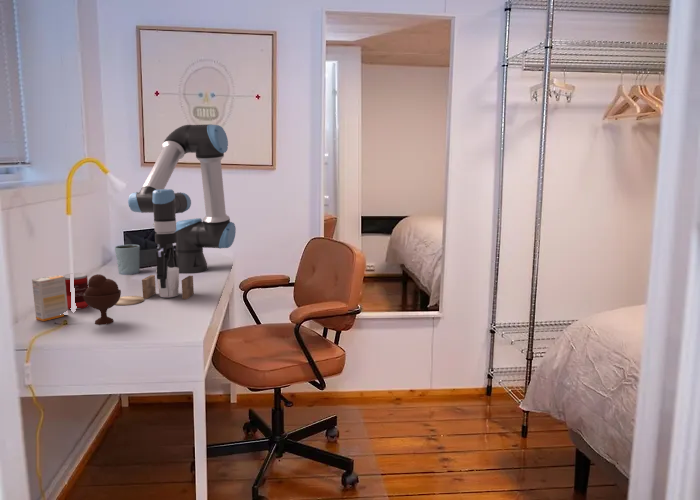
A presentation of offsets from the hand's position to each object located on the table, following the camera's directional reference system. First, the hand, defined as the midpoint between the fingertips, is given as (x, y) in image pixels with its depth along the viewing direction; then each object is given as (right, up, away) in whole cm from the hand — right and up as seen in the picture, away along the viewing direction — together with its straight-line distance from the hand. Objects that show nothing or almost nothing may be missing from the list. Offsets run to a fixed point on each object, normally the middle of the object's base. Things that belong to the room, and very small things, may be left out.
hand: (169, 293), depth 203 cm
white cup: (0, -1, 0) cm, 1 cm away
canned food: (-27, -4, -15) cm, 31 cm away
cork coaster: (-12, -2, -7) cm, 15 cm away
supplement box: (-28, -6, -27) cm, 40 cm away
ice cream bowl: (-9, -7, -32) cm, 34 cm away
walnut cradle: (0, -1, 0) cm, 1 cm away
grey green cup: (-31, +6, +41) cm, 52 cm away
